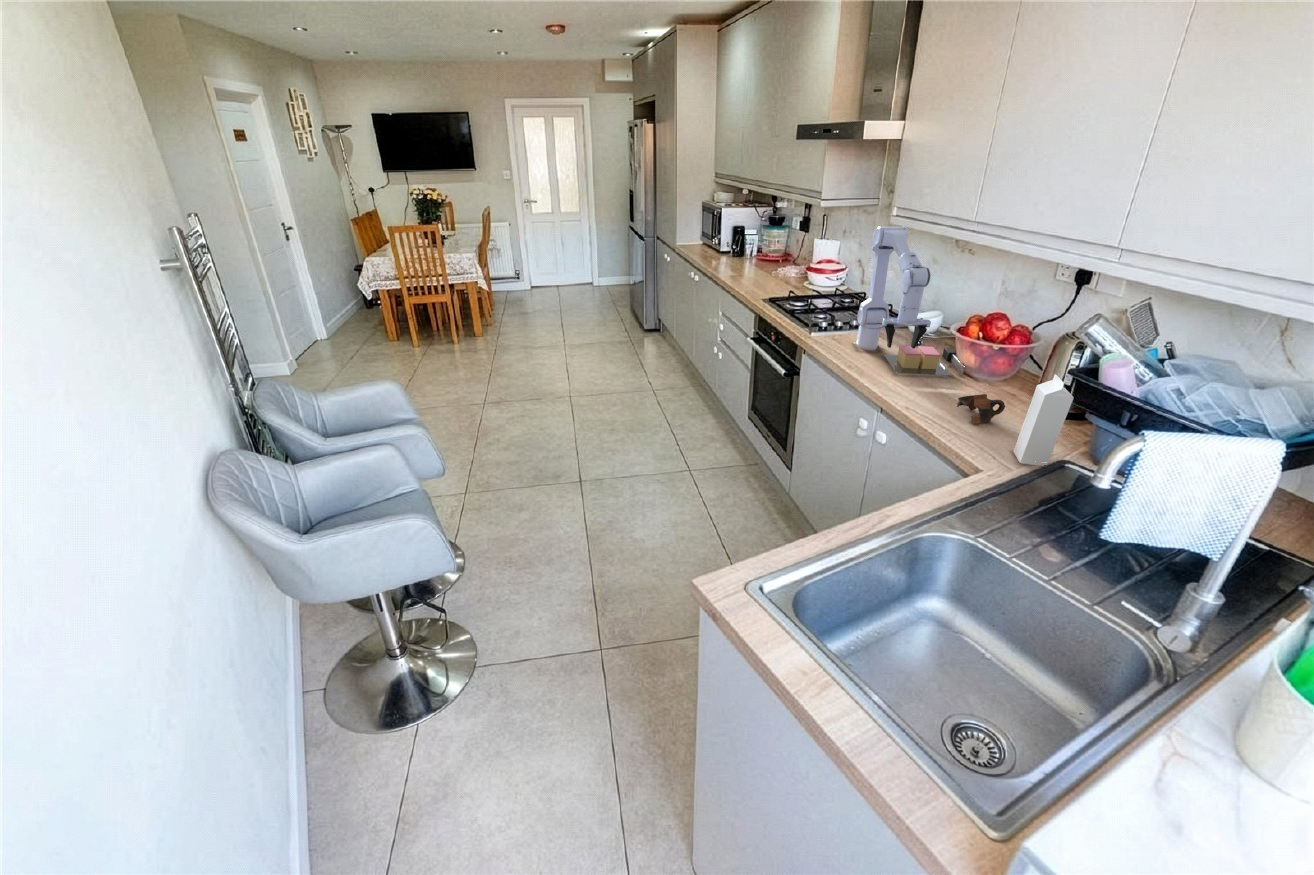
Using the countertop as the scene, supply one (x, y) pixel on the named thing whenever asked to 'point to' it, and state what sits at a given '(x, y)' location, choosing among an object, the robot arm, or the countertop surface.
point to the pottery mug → (981, 407)
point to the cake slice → (928, 357)
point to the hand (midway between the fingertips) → (900, 347)
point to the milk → (1043, 422)
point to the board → (898, 368)
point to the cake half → (908, 357)
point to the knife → (953, 359)
